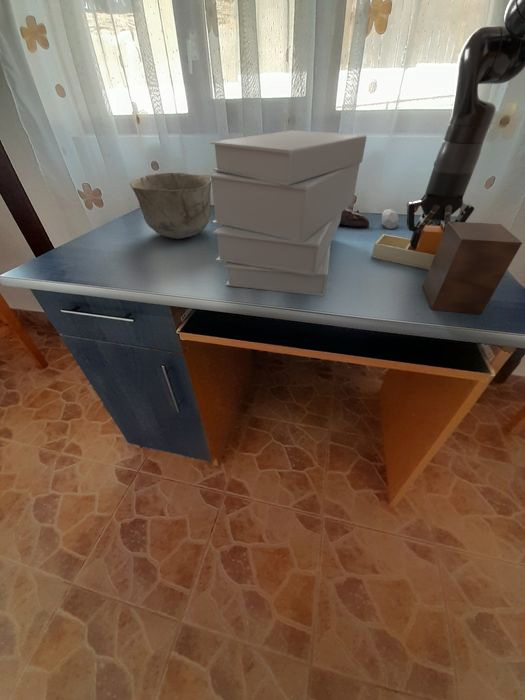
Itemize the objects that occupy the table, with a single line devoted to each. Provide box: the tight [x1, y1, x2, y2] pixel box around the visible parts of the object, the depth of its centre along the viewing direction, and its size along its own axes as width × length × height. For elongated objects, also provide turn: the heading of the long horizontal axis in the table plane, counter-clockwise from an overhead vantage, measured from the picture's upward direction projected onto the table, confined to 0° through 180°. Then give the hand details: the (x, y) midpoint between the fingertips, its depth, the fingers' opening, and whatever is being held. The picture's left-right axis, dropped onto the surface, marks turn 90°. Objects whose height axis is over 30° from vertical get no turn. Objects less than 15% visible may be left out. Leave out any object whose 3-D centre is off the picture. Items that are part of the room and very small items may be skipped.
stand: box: [422, 221, 523, 316], centre depth 56 cm, size 9×9×14 cm
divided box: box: [371, 233, 435, 271], centre depth 73 cm, size 8×22×4 cm, turn 57°
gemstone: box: [381, 208, 400, 230], centre depth 93 cm, size 6×6×5 cm
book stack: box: [206, 129, 367, 297], centre depth 68 cm, size 30×35×26 cm
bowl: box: [129, 172, 212, 240], centre depth 85 cm, size 22×22×15 cm
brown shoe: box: [339, 207, 370, 228], centre depth 94 cm, size 6×12×11 cm
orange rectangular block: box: [412, 225, 444, 255], centre depth 71 cm, size 4×4×6 cm
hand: (424, 248), depth 72 cm, fingers closed on orange rectangular block, 4 cm apart
